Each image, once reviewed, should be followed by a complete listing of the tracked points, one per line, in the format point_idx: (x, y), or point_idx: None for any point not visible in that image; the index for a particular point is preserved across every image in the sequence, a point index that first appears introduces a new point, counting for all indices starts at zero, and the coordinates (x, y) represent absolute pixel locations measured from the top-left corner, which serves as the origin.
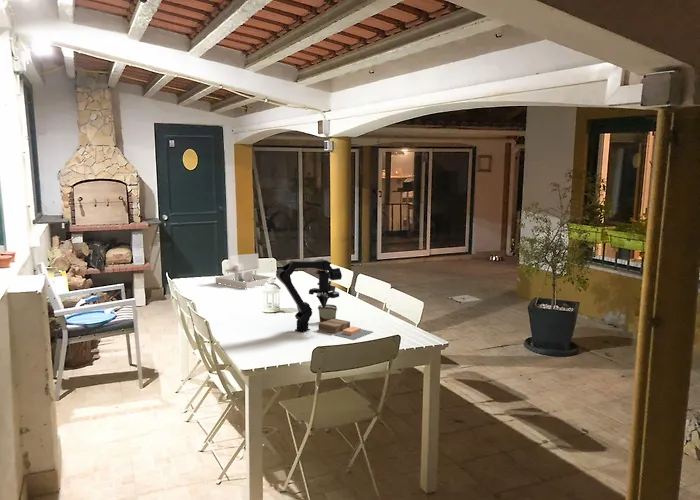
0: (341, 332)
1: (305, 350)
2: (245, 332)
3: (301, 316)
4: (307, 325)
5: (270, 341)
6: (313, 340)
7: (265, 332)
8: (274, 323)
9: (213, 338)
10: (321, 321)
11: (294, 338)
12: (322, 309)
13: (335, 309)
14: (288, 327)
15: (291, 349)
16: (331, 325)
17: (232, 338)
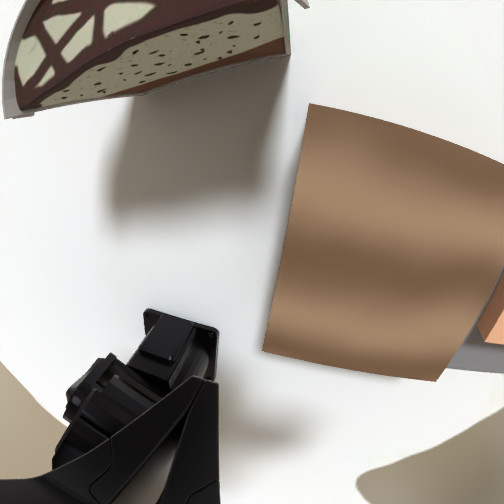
0: None
1: (351, 490)
2: (59, 390)
3: (105, 374)
4: (188, 352)
5: None
6: (337, 442)
7: None
8: (12, 270)
9: None
10: (150, 88)
11: (239, 438)
12: (73, 87)
13: (274, 3)
14: (86, 311)
15: (303, 491)
16: (398, 361)
17: None
